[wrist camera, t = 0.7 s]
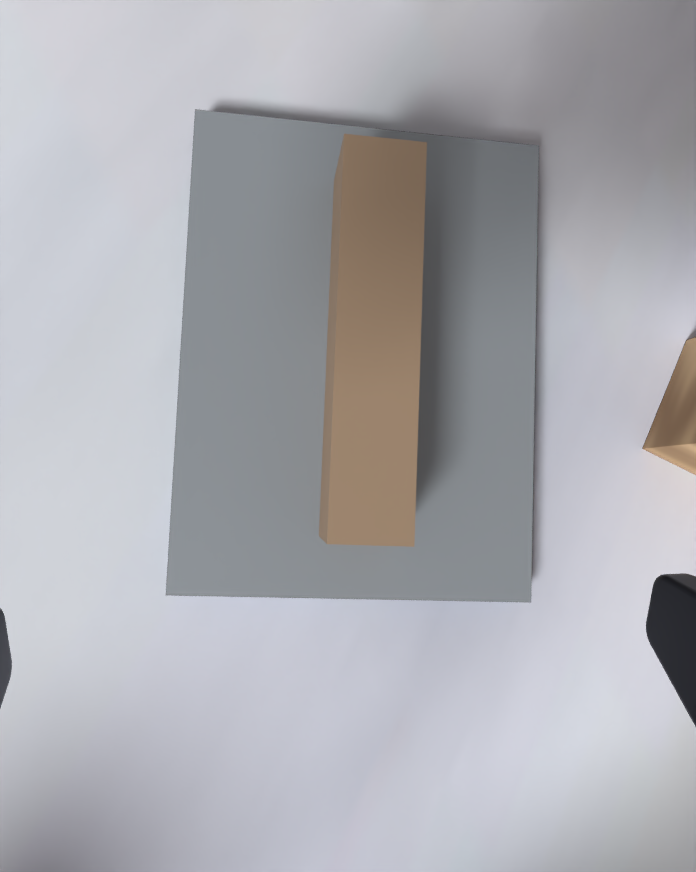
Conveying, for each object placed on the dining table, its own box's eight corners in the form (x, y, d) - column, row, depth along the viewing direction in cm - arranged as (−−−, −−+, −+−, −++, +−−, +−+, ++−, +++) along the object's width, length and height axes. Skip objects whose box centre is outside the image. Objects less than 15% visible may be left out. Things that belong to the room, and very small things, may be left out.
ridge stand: (519, 597, 23) (572, 620, 19) (170, 590, 22) (148, 613, 18) (527, 159, 24) (578, 95, 20) (198, 125, 23) (183, 50, 19)
